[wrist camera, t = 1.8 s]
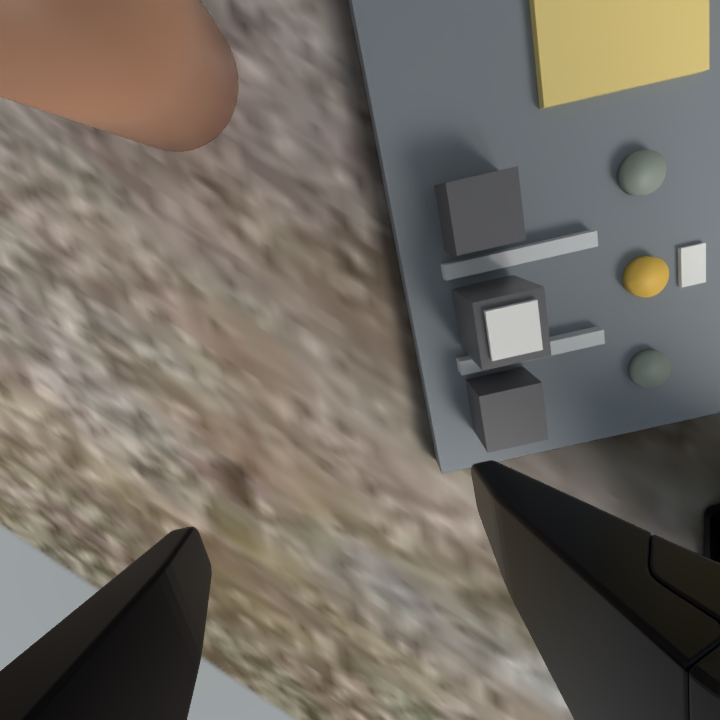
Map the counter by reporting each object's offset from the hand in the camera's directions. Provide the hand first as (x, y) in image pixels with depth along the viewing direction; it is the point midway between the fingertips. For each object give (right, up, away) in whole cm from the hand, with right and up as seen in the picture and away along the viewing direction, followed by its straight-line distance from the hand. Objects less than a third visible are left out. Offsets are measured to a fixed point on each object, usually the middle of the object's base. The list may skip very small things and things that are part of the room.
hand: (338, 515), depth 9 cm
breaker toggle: (+6, +5, +11) cm, 13 cm away
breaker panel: (+9, +9, +11) cm, 17 cm away
